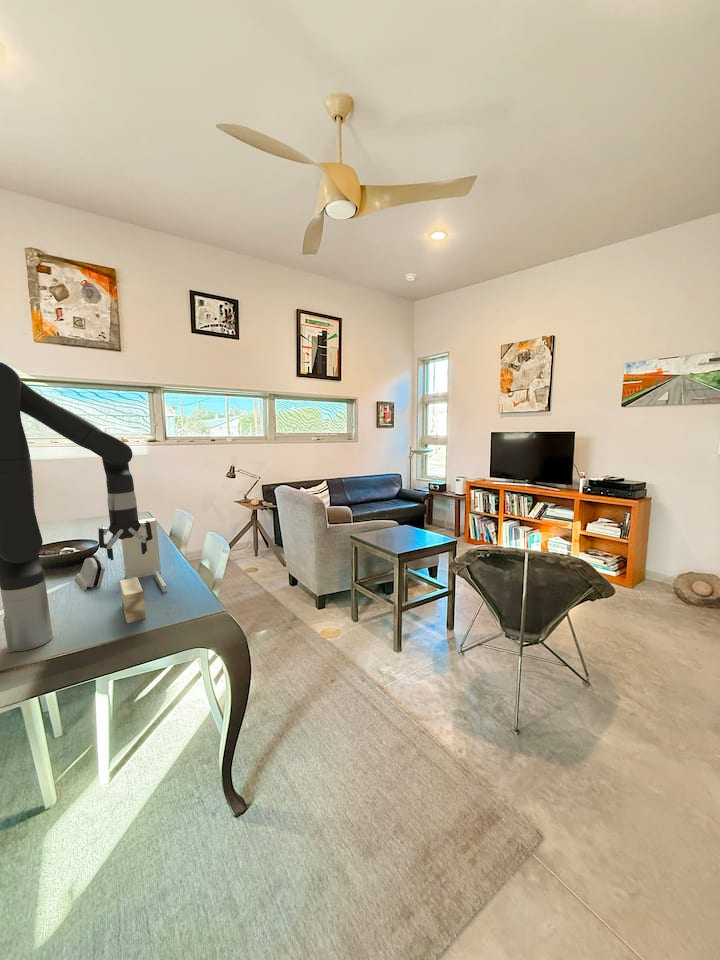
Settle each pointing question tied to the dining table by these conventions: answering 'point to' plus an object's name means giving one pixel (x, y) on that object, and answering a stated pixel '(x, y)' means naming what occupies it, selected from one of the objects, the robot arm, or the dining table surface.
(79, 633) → the dining table surface
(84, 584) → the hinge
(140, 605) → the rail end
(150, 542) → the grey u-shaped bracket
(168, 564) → the dining table surface
